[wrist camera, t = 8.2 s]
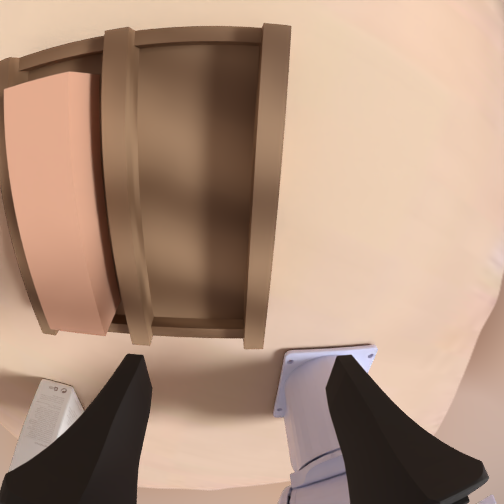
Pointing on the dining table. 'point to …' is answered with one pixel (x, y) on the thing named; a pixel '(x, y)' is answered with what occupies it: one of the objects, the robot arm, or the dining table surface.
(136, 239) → the rack
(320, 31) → the dining table surface
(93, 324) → the clay strip
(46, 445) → the skincare box
